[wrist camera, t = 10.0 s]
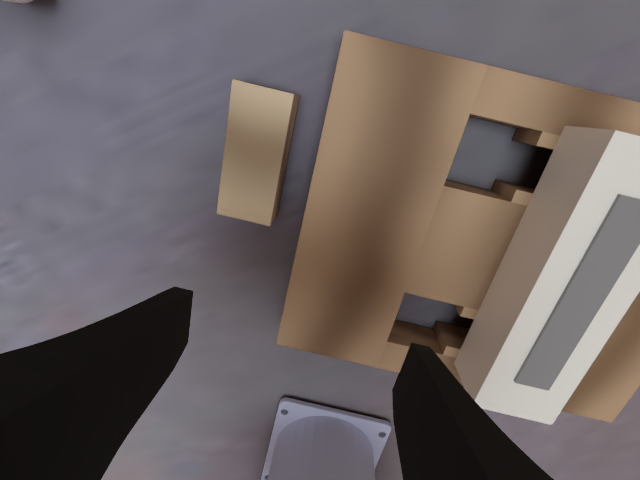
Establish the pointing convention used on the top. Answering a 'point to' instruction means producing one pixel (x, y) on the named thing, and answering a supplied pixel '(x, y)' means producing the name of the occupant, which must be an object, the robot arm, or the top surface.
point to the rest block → (256, 152)
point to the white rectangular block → (559, 279)
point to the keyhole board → (429, 209)
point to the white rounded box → (19, 1)
